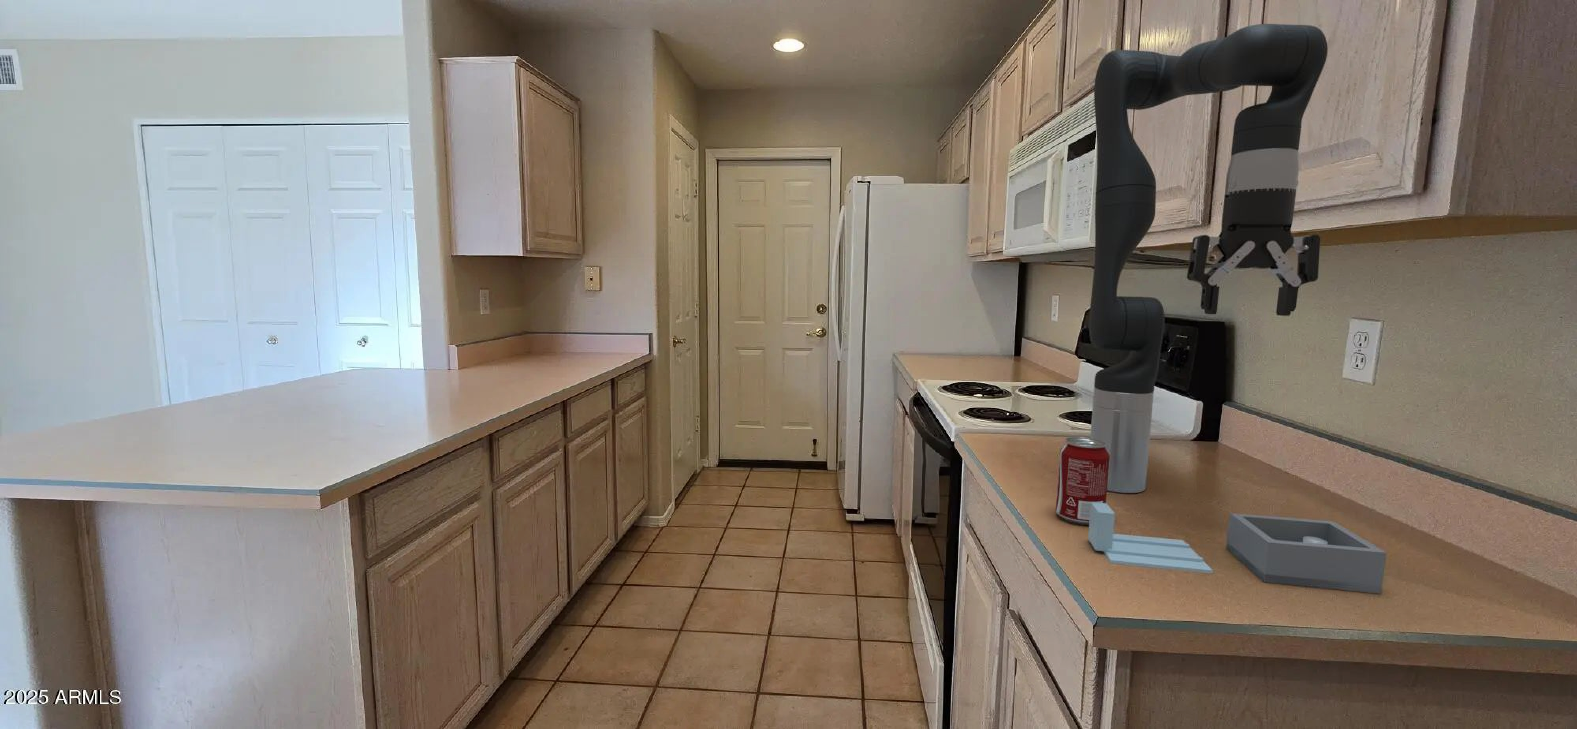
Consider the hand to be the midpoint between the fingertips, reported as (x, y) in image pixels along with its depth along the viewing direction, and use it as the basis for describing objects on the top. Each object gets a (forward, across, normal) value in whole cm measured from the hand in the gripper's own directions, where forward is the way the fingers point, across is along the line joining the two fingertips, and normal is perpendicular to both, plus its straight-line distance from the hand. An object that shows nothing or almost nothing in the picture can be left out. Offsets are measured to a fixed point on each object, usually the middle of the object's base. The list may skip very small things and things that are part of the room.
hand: (1246, 314), depth 85 cm
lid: (+32, +11, +7) cm, 35 cm away
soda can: (+32, +18, -4) cm, 36 cm away
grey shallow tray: (+31, -6, +8) cm, 33 cm away
